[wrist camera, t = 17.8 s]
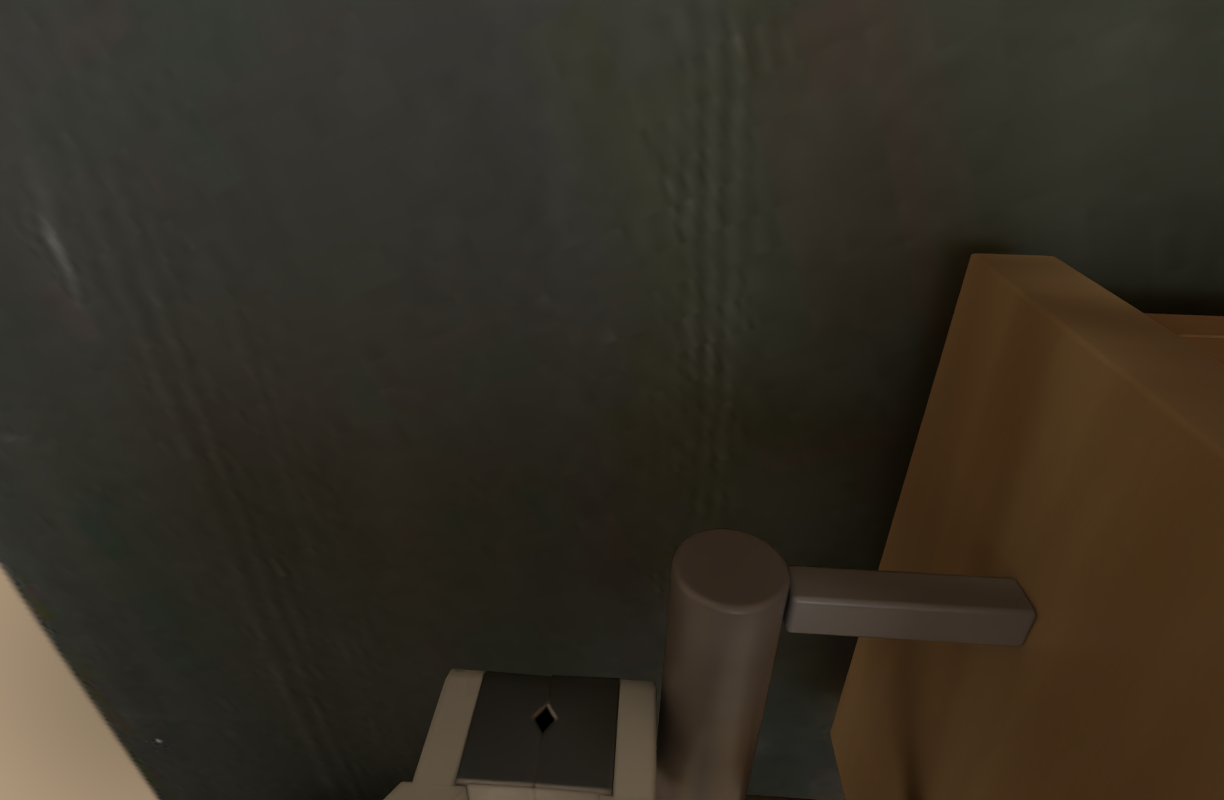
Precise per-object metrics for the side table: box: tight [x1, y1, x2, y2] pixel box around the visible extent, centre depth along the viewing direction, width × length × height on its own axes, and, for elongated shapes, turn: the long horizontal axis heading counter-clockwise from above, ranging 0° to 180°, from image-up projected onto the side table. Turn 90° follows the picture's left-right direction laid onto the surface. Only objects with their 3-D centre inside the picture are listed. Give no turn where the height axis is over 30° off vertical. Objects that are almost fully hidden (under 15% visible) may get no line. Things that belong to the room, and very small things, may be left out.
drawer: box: [656, 253, 1224, 800], centre depth 10 cm, size 16×11×7 cm
